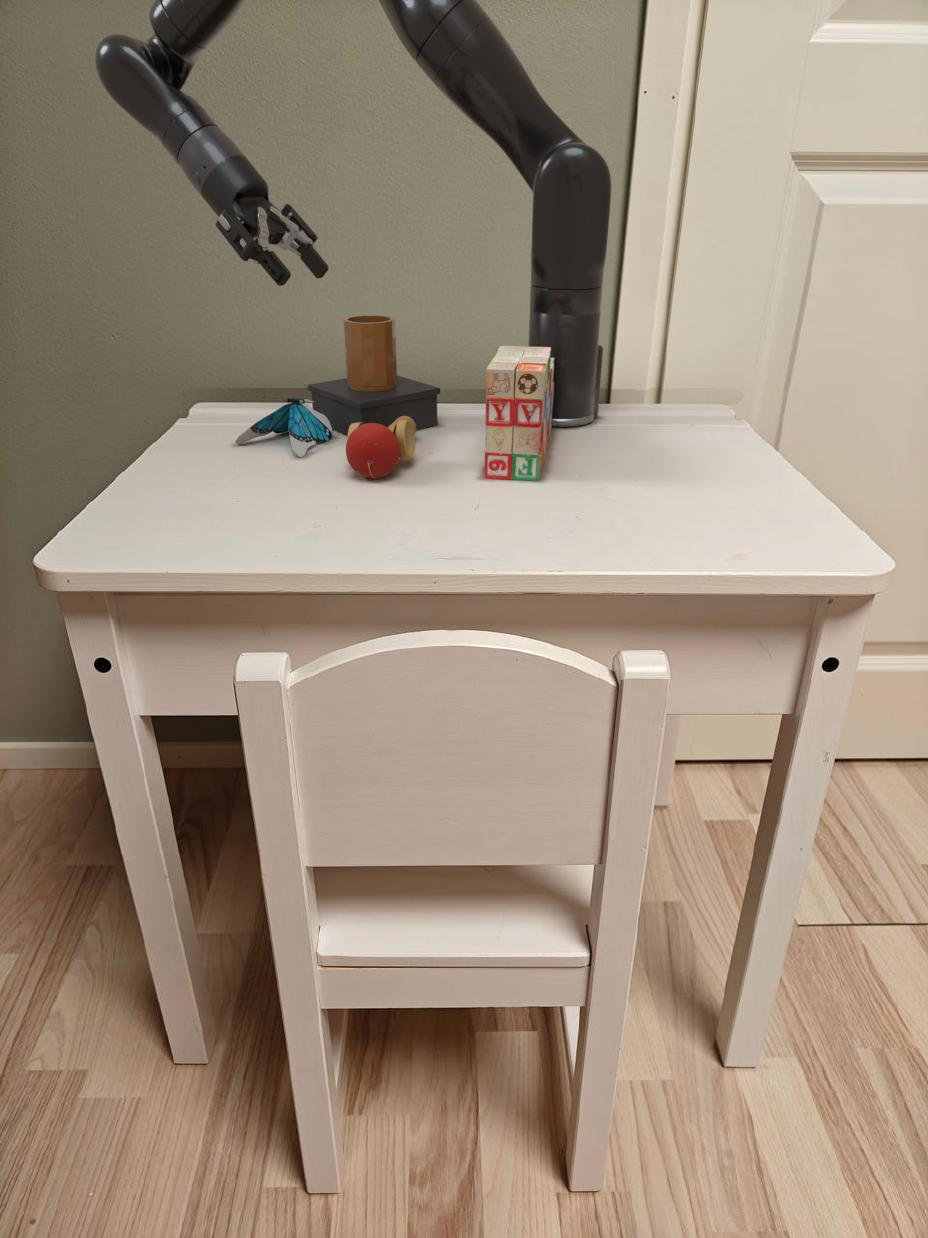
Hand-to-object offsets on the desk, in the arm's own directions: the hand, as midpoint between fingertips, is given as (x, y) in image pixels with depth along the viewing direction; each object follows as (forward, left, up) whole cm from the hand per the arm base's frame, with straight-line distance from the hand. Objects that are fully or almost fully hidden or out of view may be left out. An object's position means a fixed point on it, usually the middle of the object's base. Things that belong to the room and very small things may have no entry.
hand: (305, 277), depth 111 cm
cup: (-4, +8, -13) cm, 16 cm away
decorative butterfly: (+9, +9, -18) cm, 22 cm away
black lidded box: (-4, +8, -18) cm, 20 cm away
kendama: (+4, +22, -18) cm, 29 cm away
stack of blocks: (-11, +30, -18) cm, 37 cm away
